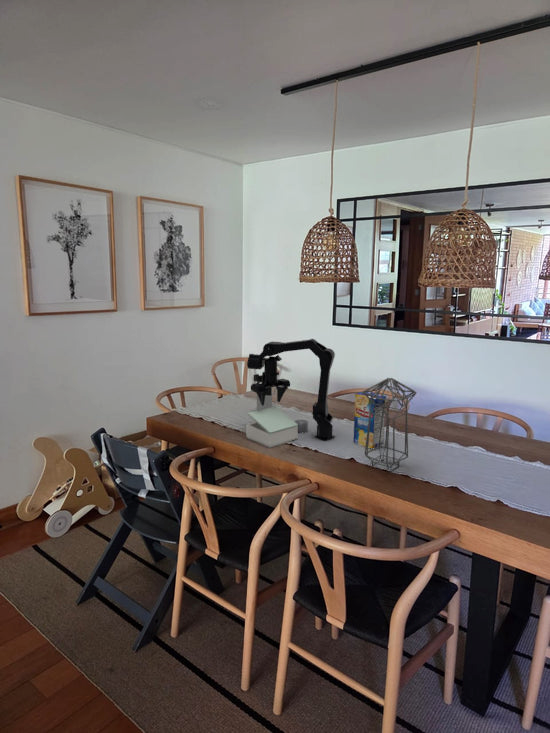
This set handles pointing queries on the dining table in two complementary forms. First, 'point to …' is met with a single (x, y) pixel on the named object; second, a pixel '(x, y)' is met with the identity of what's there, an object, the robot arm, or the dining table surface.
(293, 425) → the lid
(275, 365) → the robot arm
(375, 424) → the beverage box
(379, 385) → the geometric lantern
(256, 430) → the box
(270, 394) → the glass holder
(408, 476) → the dining table surface
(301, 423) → the gray rounded pebble
